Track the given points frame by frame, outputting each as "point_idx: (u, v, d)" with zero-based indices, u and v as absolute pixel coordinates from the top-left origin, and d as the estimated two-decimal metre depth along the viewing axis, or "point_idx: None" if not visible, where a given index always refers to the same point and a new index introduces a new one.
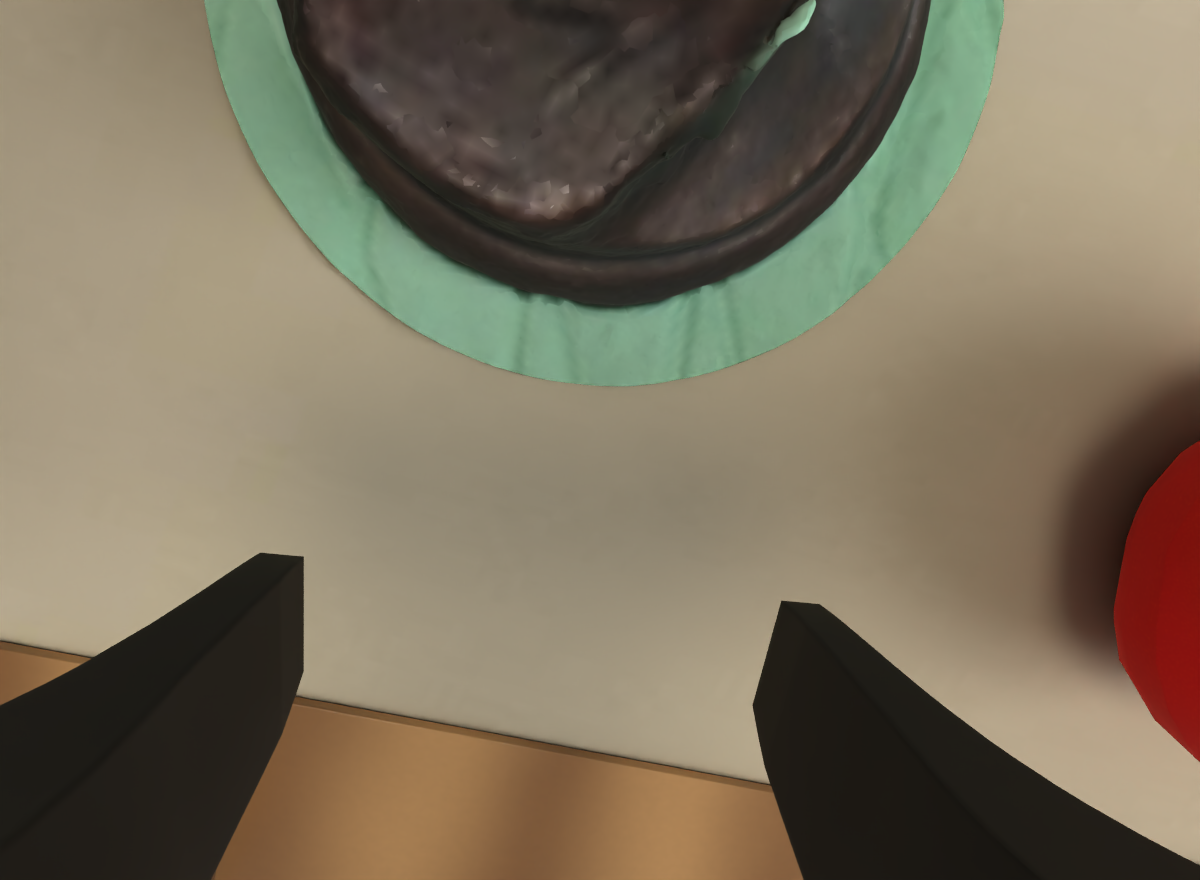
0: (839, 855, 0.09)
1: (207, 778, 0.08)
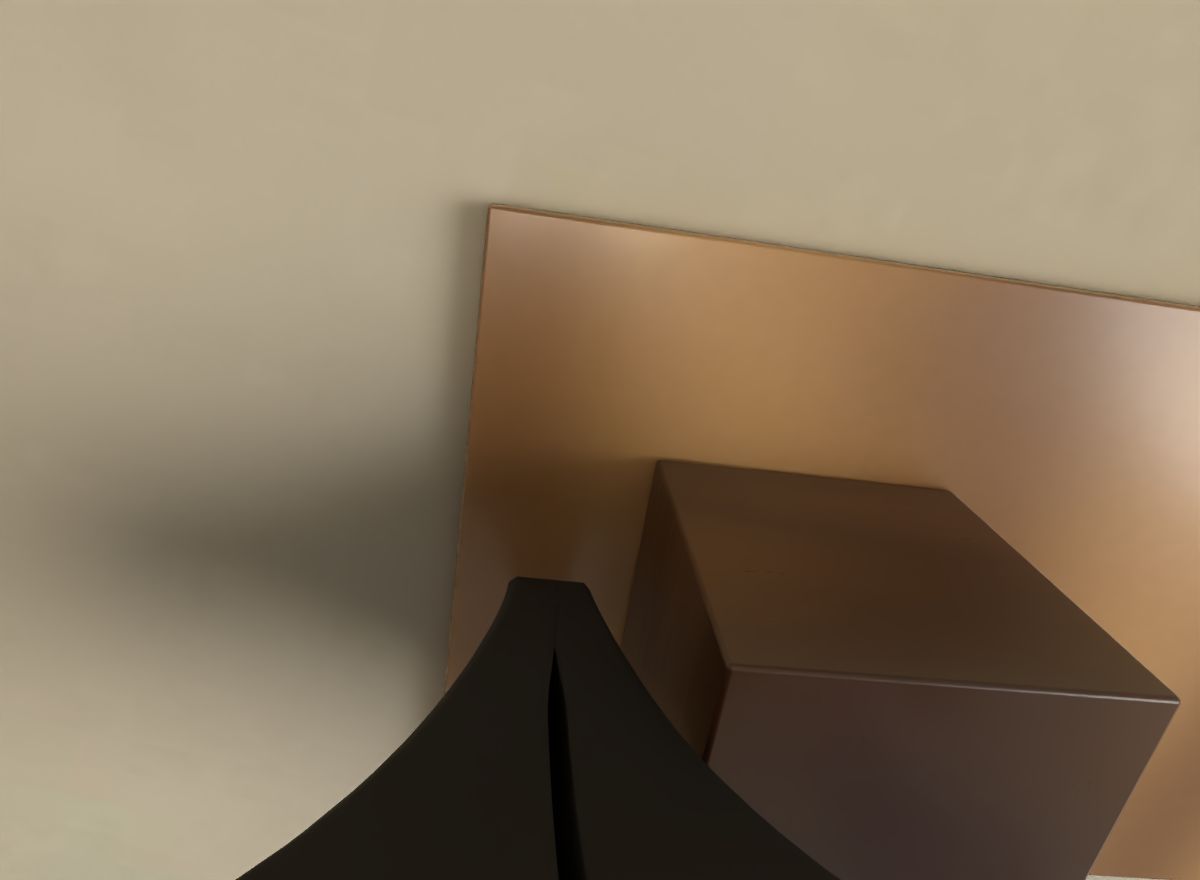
0: None
1: None
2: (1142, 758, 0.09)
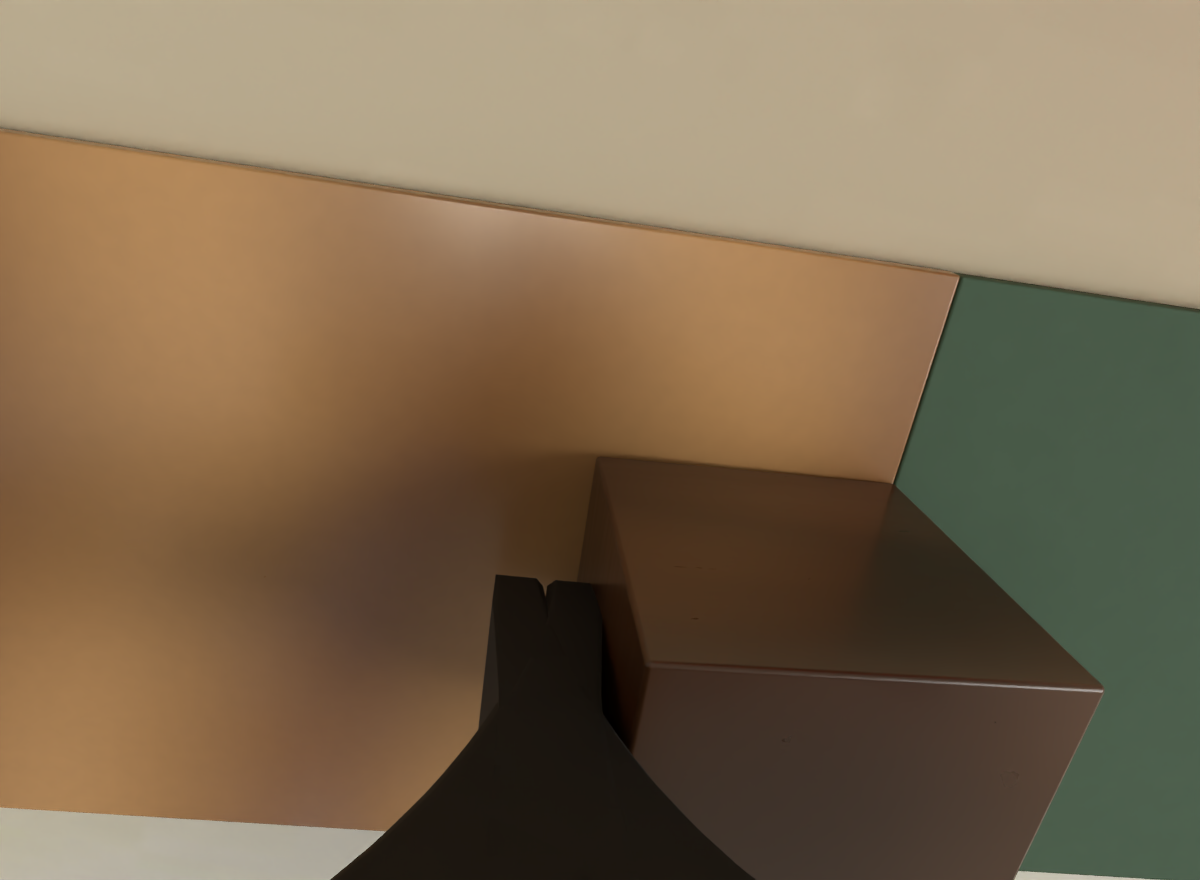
0: None
1: None
2: (1070, 748, 0.09)
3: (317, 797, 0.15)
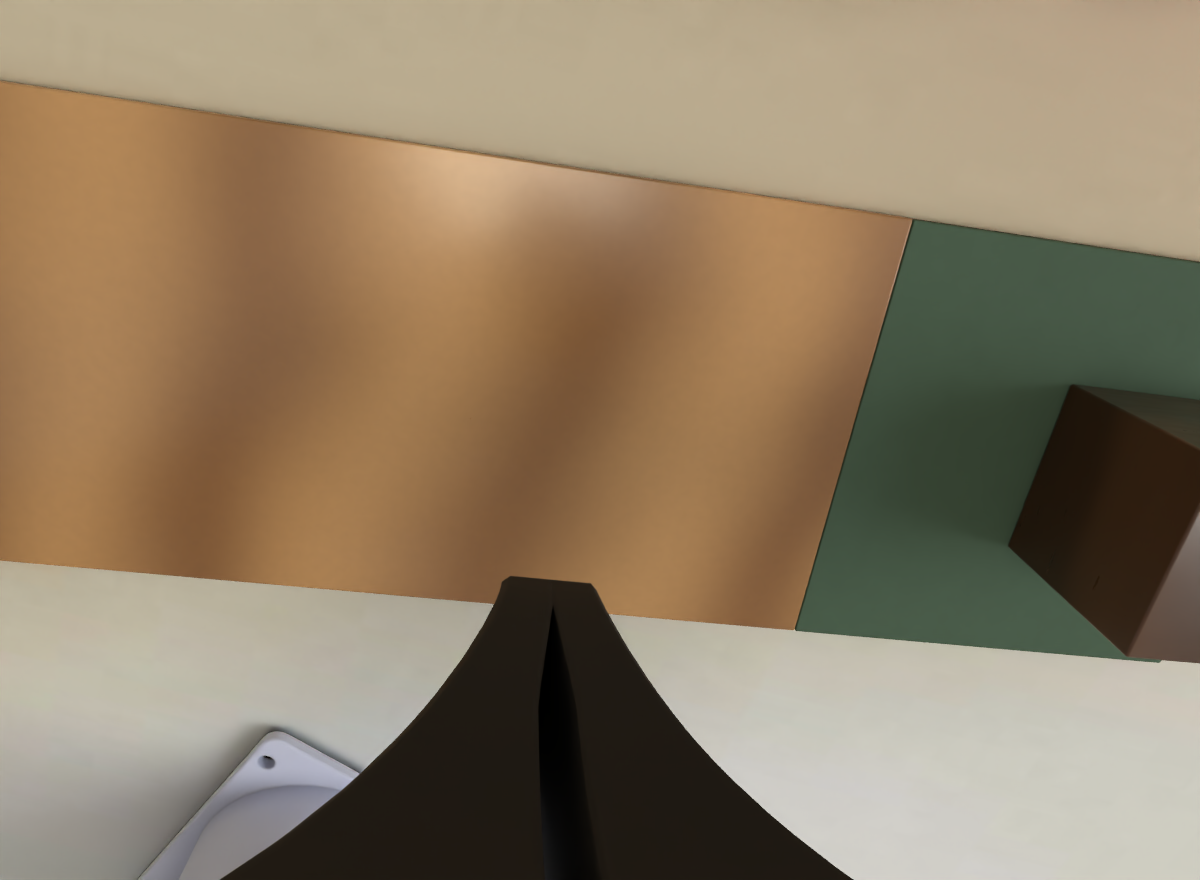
0: (550, 839, 0.09)
1: None
2: None
3: (489, 580, 0.22)
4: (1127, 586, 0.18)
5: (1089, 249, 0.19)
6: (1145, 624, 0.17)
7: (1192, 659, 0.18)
